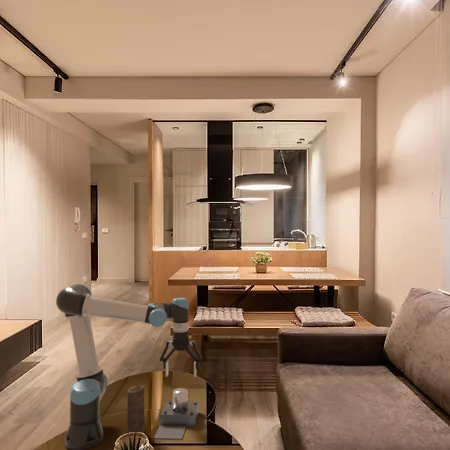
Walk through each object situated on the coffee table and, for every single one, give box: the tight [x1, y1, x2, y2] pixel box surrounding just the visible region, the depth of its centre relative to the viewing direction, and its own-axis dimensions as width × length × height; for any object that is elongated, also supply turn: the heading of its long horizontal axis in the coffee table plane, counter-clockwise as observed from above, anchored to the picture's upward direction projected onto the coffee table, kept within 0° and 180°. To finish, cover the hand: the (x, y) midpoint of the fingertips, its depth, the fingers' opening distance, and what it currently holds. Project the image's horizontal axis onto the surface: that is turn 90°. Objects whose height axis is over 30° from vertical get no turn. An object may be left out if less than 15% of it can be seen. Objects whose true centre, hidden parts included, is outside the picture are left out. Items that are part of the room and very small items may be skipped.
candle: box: [126, 385, 145, 434], centre depth 158 cm, size 8×7×20 cm
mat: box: [153, 425, 187, 441], centre depth 159 cm, size 12×10×1 cm
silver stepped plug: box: [172, 387, 189, 411], centre depth 172 cm, size 7×7×13 cm
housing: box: [159, 400, 200, 428], centre depth 172 cm, size 16×14×6 cm
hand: (181, 375), depth 173 cm, fingers open, 13 cm apart
